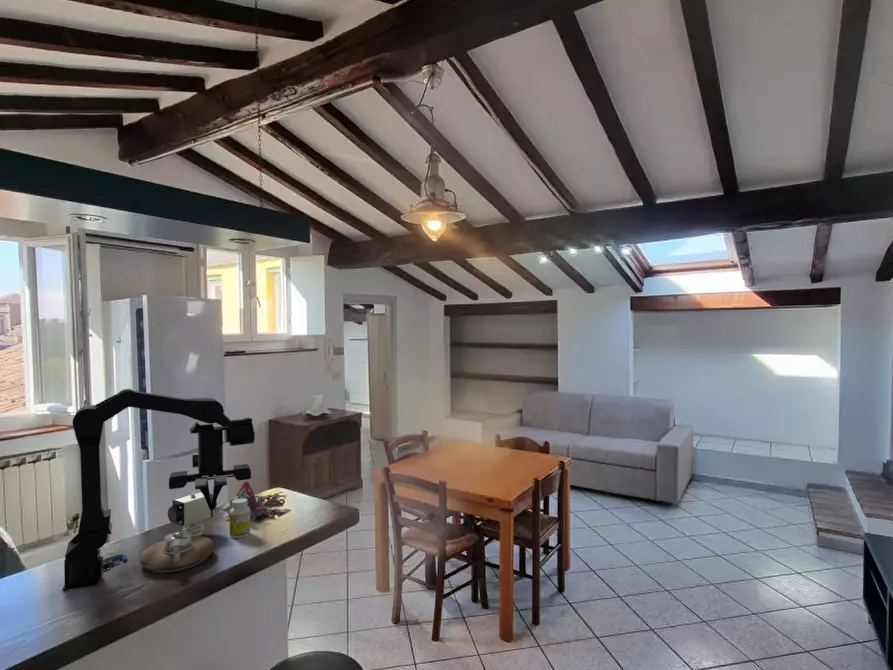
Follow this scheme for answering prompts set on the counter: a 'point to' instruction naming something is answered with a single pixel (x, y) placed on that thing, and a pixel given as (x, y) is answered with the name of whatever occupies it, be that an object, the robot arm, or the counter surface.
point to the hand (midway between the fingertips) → (211, 509)
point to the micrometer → (110, 560)
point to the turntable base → (177, 568)
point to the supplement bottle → (239, 519)
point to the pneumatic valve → (190, 512)
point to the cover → (184, 542)
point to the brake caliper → (255, 507)
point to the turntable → (176, 554)
